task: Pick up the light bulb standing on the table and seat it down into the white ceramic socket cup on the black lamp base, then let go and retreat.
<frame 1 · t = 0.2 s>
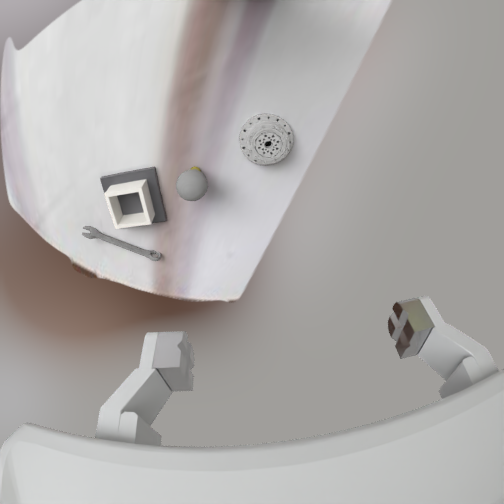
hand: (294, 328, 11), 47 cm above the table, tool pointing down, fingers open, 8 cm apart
combination wrench: (122, 238, 63), on the table
light bulb: (196, 170, 55), on the table
lamp base: (134, 197, 57), on the table
mechanical component: (265, 138, 52), on the table
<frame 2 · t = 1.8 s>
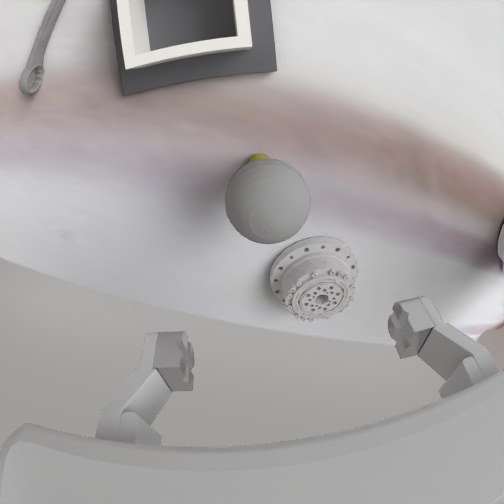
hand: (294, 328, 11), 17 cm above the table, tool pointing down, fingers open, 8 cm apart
light bulb: (258, 162, 25), on the table
lamp base: (190, 12, 16), on the table
mechanical component: (312, 270, 33), on the table
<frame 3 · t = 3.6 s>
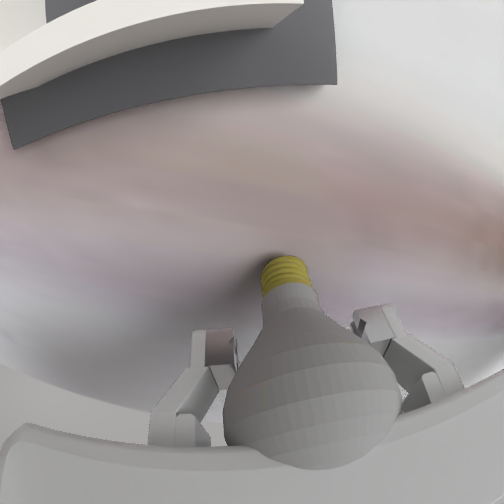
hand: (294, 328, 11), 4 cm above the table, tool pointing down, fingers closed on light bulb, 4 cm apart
light bulb: (280, 263, 14), on the table, touching gripper
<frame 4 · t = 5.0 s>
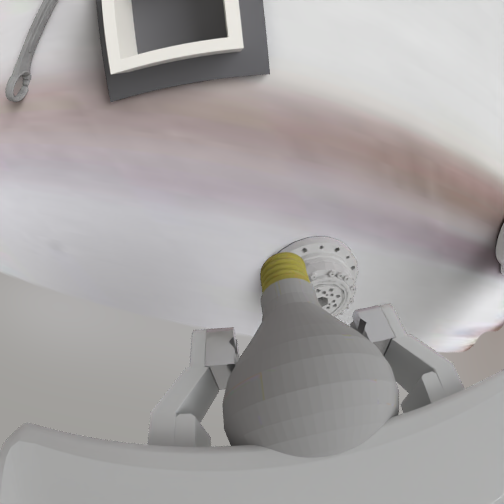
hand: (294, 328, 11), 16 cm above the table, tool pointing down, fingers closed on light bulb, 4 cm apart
light bulb: (279, 260, 14), point 12 cm above the table, touching gripper
lamp base: (179, 13, 15), on the table
mechanical component: (310, 271, 32), on the table
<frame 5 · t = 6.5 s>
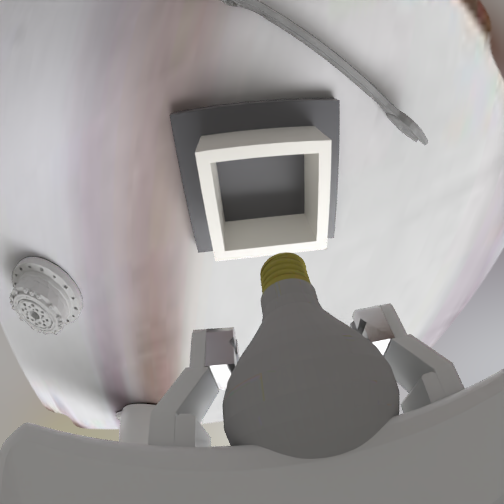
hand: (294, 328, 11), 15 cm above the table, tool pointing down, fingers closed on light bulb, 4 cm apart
combination wrench: (321, 59, 18), on the table
light bulb: (279, 260, 14), point 11 cm above the table, touching gripper
lamp base: (261, 175, 23), on the table
mechanical component: (49, 287, 29), on the table
when the fingers open (6 cm above the table, at t = 8.4 s): light bulb drops 1 cm, resting on lamp base.
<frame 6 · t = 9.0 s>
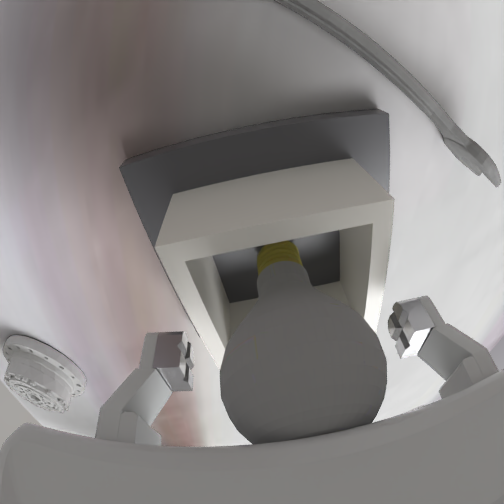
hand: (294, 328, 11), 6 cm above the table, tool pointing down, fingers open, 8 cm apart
combination wrench: (348, 53, 10), on the table
light bulb: (275, 248, 15), point 1 cm above the table, touching lamp base
lamp base: (274, 236, 15), on the table
mechanical component: (46, 361, 23), on the table
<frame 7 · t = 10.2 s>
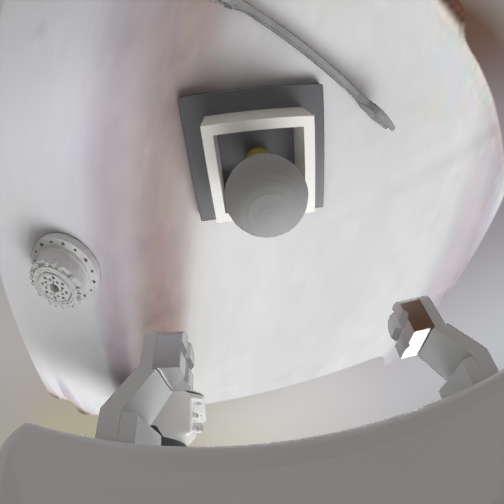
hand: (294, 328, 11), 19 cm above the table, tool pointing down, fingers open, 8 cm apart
combination wrench: (302, 55, 21), on the table
light bulb: (256, 155, 25), point 1 cm above the table, touching lamp base
lamp base: (256, 151, 25), on the table
mechanical component: (67, 263, 32), on the table
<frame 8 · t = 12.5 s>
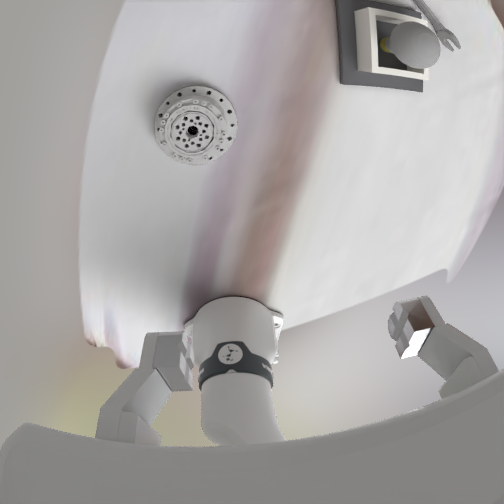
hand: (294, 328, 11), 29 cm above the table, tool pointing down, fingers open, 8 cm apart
light bulb: (384, 45, 26), point 1 cm above the table, touching lamp base
lamp base: (381, 44, 27), on the table
mechanical component: (196, 123, 33), on the table
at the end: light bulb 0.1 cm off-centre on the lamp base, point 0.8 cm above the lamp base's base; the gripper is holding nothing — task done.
